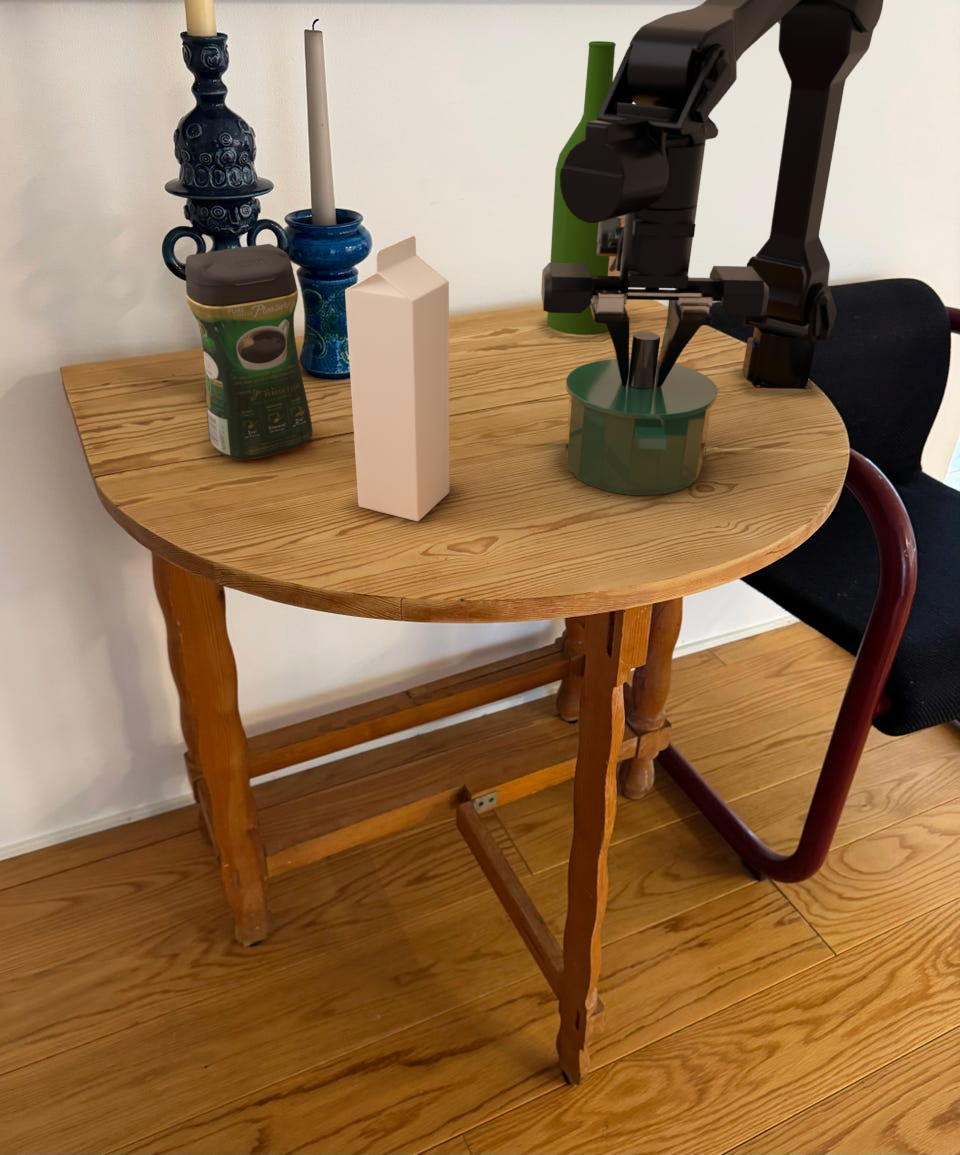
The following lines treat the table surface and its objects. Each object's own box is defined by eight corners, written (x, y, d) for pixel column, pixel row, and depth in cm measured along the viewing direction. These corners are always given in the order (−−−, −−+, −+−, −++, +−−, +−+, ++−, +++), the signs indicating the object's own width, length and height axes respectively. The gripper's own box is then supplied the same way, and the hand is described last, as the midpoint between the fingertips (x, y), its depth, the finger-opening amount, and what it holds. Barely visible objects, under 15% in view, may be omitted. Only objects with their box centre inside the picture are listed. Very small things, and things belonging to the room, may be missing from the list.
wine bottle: (611, 342, 119) (638, 46, 101) (541, 335, 121) (556, 43, 103) (619, 320, 127) (646, 40, 109) (553, 314, 128) (568, 38, 110)
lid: (701, 370, 92) (709, 313, 89) (729, 428, 81) (740, 364, 78) (561, 367, 92) (564, 310, 89) (570, 424, 81) (574, 361, 78)
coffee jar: (290, 418, 98) (271, 232, 88) (323, 447, 92) (307, 252, 82) (199, 439, 93) (168, 245, 83) (228, 470, 88) (198, 267, 78)
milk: (358, 507, 82) (338, 247, 70) (392, 479, 87) (380, 229, 75) (419, 523, 80) (410, 256, 68) (451, 492, 85) (448, 238, 73)
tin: (683, 426, 98) (693, 356, 94) (716, 511, 83) (730, 432, 78) (560, 424, 98) (565, 354, 94) (572, 508, 83) (578, 429, 79)
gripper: (754, 185, 84) (726, 355, 93) (543, 181, 84) (535, 351, 93) (785, 213, 75) (752, 399, 83) (549, 208, 75) (539, 395, 83)
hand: (641, 384), depth 86 cm, fingers open, 3 cm apart
